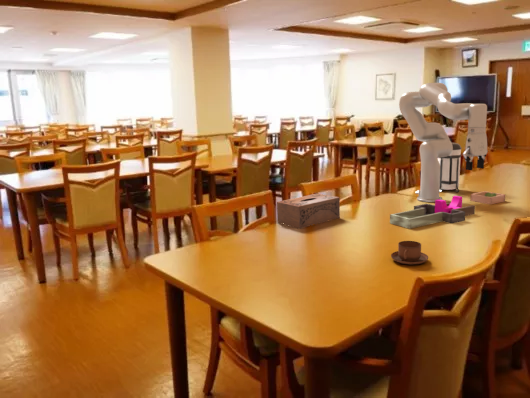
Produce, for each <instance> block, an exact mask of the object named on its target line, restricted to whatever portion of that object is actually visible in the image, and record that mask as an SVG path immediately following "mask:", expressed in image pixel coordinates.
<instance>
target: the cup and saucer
mask: <svg viewBox="0 0 530 398" xmlns="http://www.w3.org/2000/svg"><path fill="white" fill-rule="evenodd" d="M397 248H398V251H397V250H396V251H394V252H391V255H390V256H391V259H392V260H393V261H395V262H397V263H399V264H403V265H419V264H424V263H426V262H427V261H428V260H429V255H427V254H426V253H425V252H422V243H420V242H419V241H415V240H403V241H399V242H398V247H397Z"/></svg>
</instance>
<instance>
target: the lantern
mask: <svg viewBox="0 0 530 398" xmlns="http://www.w3.org/2000/svg"><path fill="white" fill-rule="evenodd" d="M449 139H450V141H451V143H452V146H453V150H452V153H451V154H450V155H449V156H446V157H439V158H437V159H438V161H439V164H440V189H439V193H441V192H442V191H444V190H445V191H446V190H447V191H448V190H449V191H451V190H454V192H455V193H459V192H460V189H459V187H460V174H461V173H460V172H461V157H462V149H463V148H462V147H461V145H460V144H459V143H458V142H457V143H456V142H452V141H453V139H452V138H450V137H449Z"/></svg>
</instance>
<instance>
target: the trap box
mask: <svg viewBox="0 0 530 398" xmlns="http://www.w3.org/2000/svg"><path fill="white" fill-rule="evenodd" d="M450 203H451V201H450V202H446V204H447V206H449V205H450ZM475 212H476V205H473V204H472V205H468V206H462V208H457V209H452V211H451V213H446V212H438V213H435V204H431V203H423V204H417V205H414V206H413V209H410V210H406V211H401V212H396V213H391V214H389V224H391V225H394V226H398V227H402V228H404V229H405V228H406V229H409V230H410V229H414V228H418V227H424V226H428V225H432V224H436V223H440V222H441V223H442V222H443V223H447V224H451V225H452V224H458V223H461V222H464V221H466V217H467V216H472V215H475Z"/></svg>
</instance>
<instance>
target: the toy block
mask: <svg viewBox="0 0 530 398" xmlns="http://www.w3.org/2000/svg"><path fill="white" fill-rule="evenodd" d="M450 202H451V203H450ZM450 202H449V203H450V205H449V206H447V204H446V203H447V200H444V199H442V200H440V199H438V200H435V202H434V205H435V213H438V212H446V213H451V211H452V209H457V208H462V207H463V196H459V195H453V196H452V199H451V201H450Z"/></svg>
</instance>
